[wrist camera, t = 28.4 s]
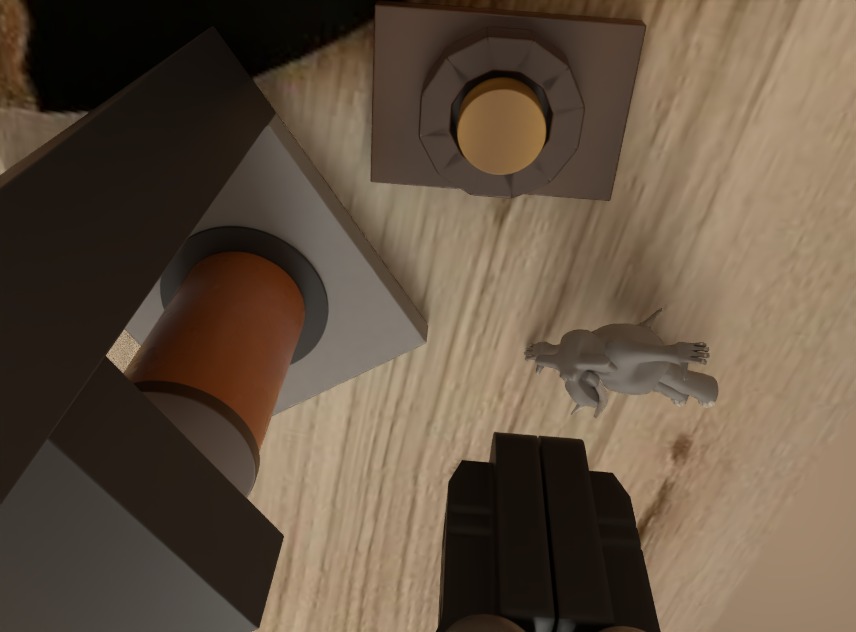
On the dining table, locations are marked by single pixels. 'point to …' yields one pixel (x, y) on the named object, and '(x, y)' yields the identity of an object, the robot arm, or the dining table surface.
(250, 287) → the orange lidded canister
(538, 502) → the robot arm
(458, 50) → the control block
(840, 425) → the dining table surface
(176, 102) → the dark brown rectangular box
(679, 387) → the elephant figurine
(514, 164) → the button
